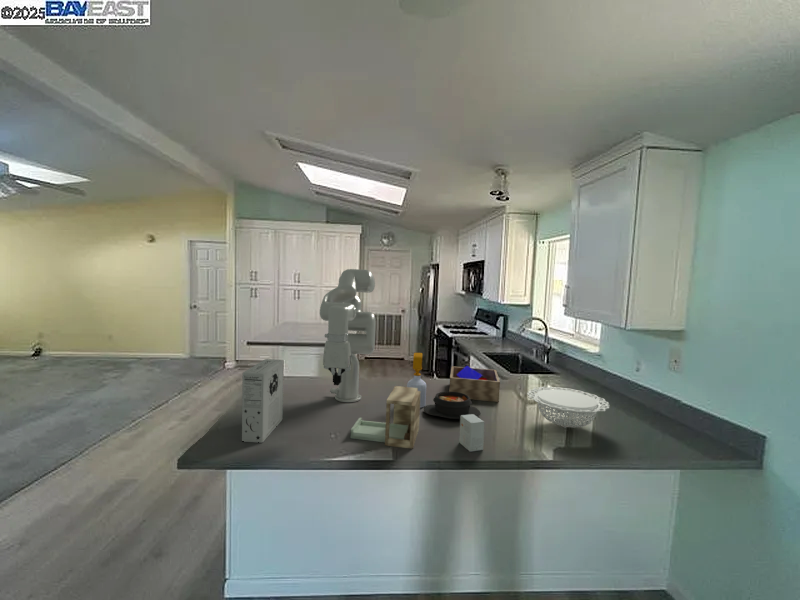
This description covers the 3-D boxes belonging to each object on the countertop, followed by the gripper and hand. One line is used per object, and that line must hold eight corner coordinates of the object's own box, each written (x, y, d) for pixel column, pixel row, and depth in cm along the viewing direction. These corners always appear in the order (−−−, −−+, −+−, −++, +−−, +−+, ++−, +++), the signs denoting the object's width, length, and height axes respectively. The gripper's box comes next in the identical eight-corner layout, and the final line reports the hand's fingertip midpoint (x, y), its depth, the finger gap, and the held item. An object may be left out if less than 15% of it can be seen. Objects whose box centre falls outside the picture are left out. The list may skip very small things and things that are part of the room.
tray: (350, 438, 145) (350, 429, 145) (359, 425, 157) (359, 417, 157) (403, 444, 142) (404, 435, 142) (408, 431, 154) (409, 422, 154)
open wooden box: (449, 397, 197) (450, 377, 196) (450, 383, 221) (451, 366, 220) (498, 401, 193) (499, 382, 193) (495, 387, 217) (496, 369, 217)
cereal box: (264, 418, 160) (265, 358, 158) (282, 419, 160) (283, 359, 158) (241, 442, 139) (242, 372, 137) (262, 443, 139) (263, 373, 137)
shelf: (384, 445, 141) (386, 399, 139) (393, 426, 158) (395, 385, 156) (413, 448, 139) (415, 402, 138) (418, 429, 156) (420, 388, 155)
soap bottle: (425, 402, 188) (428, 352, 186) (425, 409, 179) (427, 356, 177) (407, 401, 189) (409, 350, 187) (405, 407, 180) (407, 354, 178)
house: (475, 385, 218) (476, 365, 217) (492, 397, 199) (493, 375, 198) (455, 386, 216) (456, 365, 215) (470, 398, 196) (471, 375, 195)
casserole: (475, 408, 183) (476, 390, 182) (484, 424, 165) (485, 404, 164) (421, 406, 182) (422, 389, 182) (425, 422, 164) (426, 402, 163)
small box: (483, 450, 140) (485, 421, 139) (469, 452, 138) (471, 423, 137) (472, 440, 147) (473, 413, 147) (458, 442, 145) (460, 414, 145)
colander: (574, 412, 183) (576, 385, 182) (626, 441, 152) (629, 410, 151) (511, 415, 176) (512, 387, 175) (552, 446, 145) (555, 413, 144)
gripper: (315, 338, 147) (315, 385, 150) (354, 341, 145) (352, 389, 147) (322, 334, 155) (322, 379, 157) (359, 337, 152) (358, 383, 154)
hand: (336, 384), depth 152 cm, fingers closed
